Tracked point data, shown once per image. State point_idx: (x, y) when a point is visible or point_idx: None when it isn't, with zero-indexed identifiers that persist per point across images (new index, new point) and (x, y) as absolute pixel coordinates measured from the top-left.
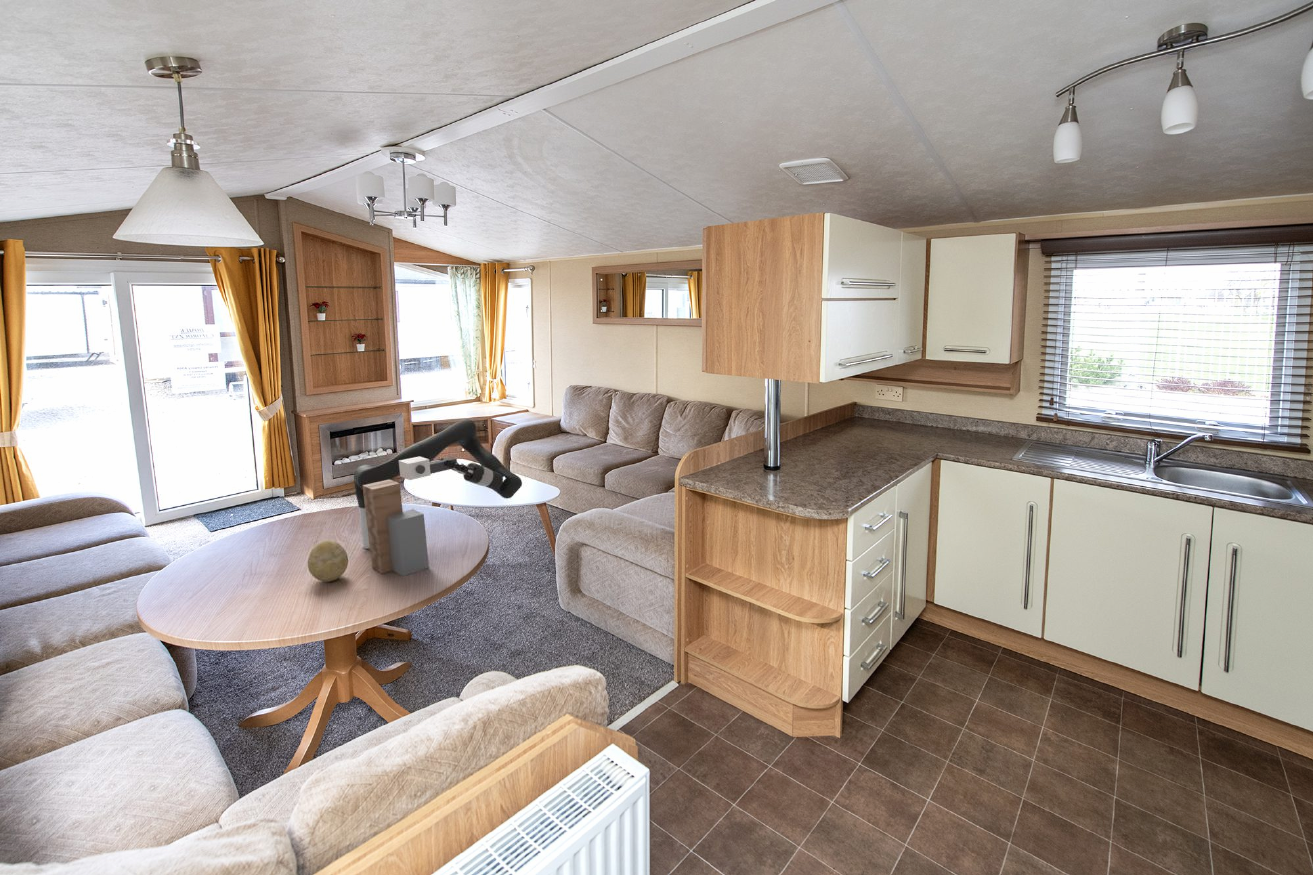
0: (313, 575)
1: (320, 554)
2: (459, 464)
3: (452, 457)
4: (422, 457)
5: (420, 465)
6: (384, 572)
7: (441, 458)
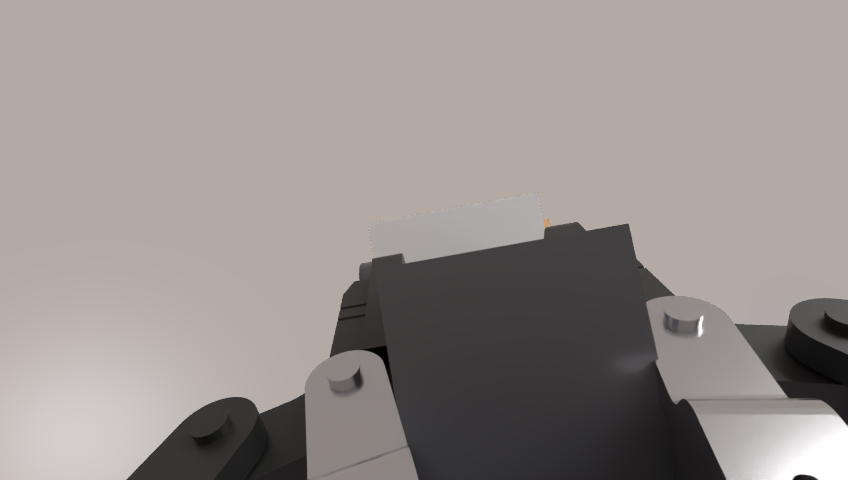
0: None
1: None
2: (215, 411)
3: (591, 230)
4: (477, 204)
5: (368, 262)
6: None
7: (548, 230)
